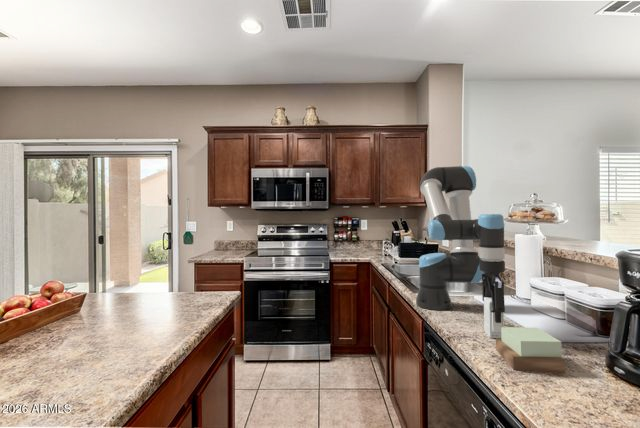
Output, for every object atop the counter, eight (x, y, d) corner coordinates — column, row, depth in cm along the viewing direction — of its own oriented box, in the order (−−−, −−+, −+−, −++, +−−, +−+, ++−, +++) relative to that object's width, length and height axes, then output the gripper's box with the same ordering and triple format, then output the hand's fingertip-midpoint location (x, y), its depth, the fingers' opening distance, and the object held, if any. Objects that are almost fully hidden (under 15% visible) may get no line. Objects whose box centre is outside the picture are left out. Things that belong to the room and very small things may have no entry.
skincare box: (504, 339, 99) (503, 302, 99) (489, 338, 100) (489, 302, 100) (497, 331, 105) (496, 297, 105) (483, 331, 106) (483, 296, 106)
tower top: (501, 340, 89) (501, 327, 89) (537, 341, 89) (536, 327, 89) (521, 356, 79) (520, 341, 80) (561, 357, 79) (561, 341, 79)
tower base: (496, 351, 91) (495, 338, 91) (540, 354, 89) (540, 340, 89) (513, 371, 79) (513, 356, 80) (565, 375, 77) (564, 359, 77)
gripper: (516, 264, 92) (518, 340, 92) (493, 255, 111) (495, 318, 111) (489, 263, 94) (491, 338, 94) (471, 255, 112) (473, 318, 112)
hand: (493, 327), depth 102 cm, fingers closed on skincare box, 6 cm apart
